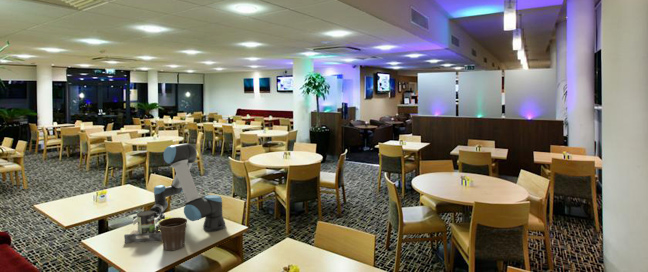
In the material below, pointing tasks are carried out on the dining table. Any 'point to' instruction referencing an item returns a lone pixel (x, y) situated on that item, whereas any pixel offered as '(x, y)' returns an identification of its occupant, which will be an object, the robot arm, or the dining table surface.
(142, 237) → the display shelf
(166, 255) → the dining table surface
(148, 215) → the coffee can
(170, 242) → the plant pot
